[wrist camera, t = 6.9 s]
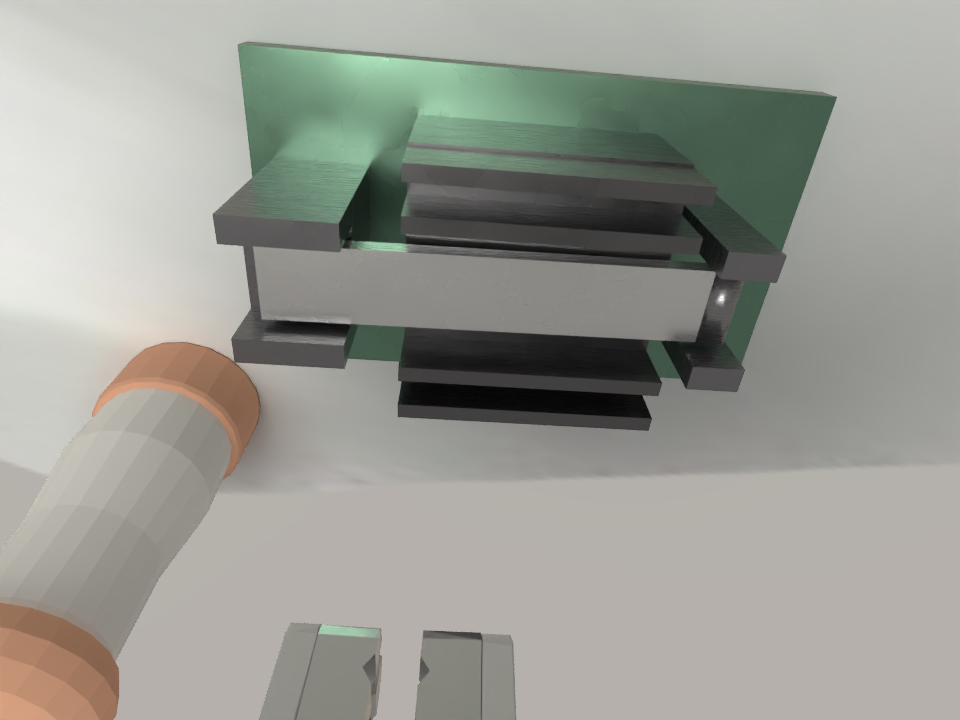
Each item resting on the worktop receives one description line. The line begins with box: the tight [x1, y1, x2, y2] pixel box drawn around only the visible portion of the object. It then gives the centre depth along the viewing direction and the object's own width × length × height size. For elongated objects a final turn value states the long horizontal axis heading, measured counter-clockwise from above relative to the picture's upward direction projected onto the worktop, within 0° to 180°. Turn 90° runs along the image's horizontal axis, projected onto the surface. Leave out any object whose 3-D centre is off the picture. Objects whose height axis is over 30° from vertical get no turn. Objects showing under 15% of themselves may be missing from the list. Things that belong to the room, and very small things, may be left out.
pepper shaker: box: [0, 343, 260, 720], centre depth 26 cm, size 7×7×19 cm
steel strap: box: [253, 240, 744, 347], centre depth 23 cm, size 18×3×1 cm, turn 86°
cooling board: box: [213, 42, 837, 431], centre depth 26 cm, size 24×14×9 cm, turn 85°
